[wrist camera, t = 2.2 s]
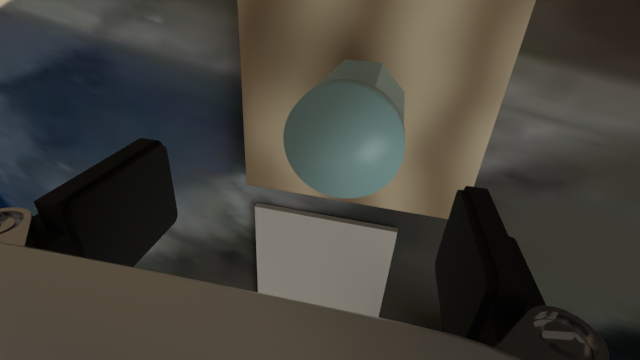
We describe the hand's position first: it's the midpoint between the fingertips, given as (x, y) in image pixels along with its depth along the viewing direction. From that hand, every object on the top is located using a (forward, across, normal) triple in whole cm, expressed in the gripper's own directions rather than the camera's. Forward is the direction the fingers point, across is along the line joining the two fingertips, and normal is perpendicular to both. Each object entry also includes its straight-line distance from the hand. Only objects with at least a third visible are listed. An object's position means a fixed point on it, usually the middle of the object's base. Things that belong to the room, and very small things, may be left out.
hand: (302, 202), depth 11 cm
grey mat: (+14, +1, +17) cm, 22 cm away
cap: (+10, -1, 0) cm, 10 cm away
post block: (+14, -1, 0) cm, 14 cm away
